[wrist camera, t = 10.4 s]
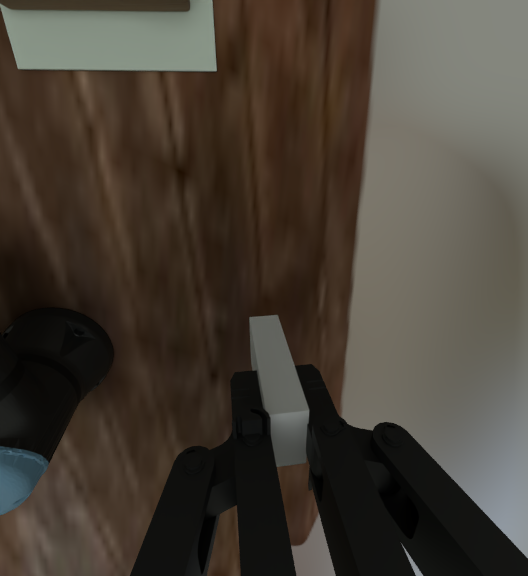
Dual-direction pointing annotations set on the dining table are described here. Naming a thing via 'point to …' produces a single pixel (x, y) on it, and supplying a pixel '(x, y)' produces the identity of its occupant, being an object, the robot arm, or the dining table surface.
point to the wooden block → (99, 5)
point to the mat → (114, 39)
